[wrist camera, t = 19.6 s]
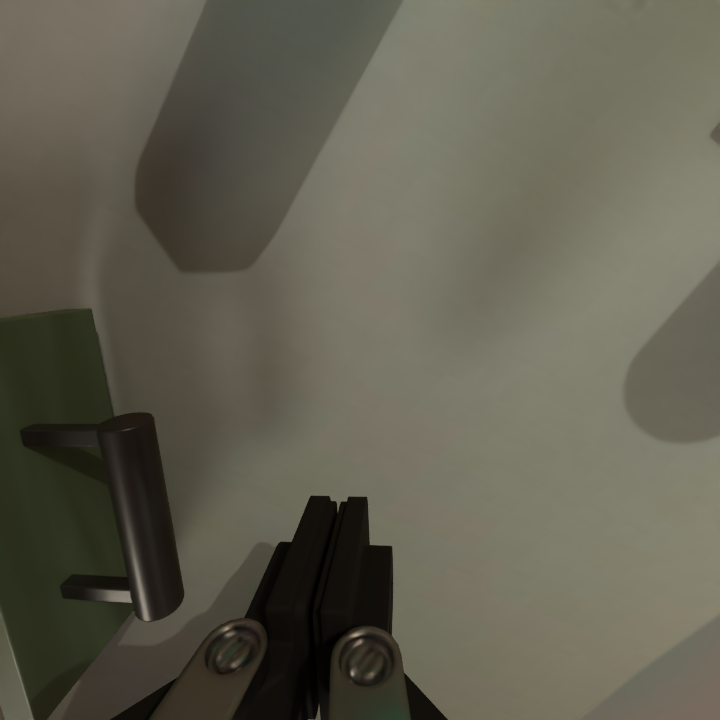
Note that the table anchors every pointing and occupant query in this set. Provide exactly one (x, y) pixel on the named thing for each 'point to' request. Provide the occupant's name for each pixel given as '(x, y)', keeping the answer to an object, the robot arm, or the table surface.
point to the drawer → (72, 512)
